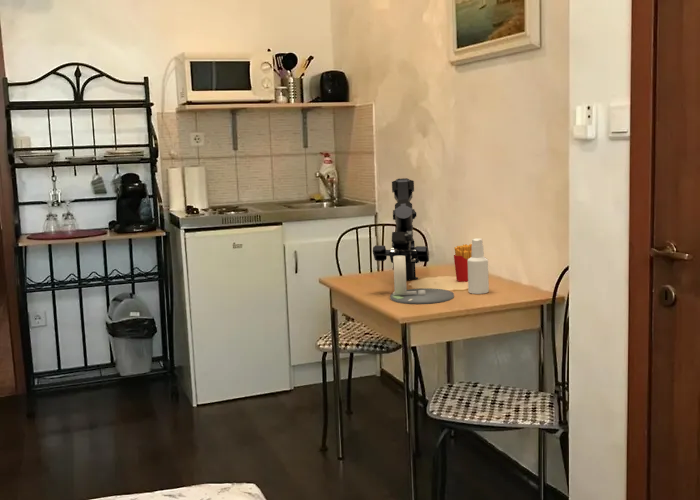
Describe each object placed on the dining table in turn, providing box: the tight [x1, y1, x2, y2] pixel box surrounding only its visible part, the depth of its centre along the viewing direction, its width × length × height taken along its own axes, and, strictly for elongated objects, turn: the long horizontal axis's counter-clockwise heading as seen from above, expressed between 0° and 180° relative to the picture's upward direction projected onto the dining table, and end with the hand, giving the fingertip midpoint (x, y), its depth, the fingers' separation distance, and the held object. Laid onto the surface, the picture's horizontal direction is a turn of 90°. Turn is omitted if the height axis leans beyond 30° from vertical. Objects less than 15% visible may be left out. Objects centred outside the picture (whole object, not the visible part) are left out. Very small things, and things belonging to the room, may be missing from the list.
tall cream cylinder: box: [392, 255, 417, 295], centre depth 257 cm, size 8×4×13 cm, turn 88°
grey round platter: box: [390, 287, 455, 305], centre depth 258 cm, size 21×21×2 cm
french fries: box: [453, 243, 472, 283], centre depth 282 cm, size 9×4×13 cm, turn 112°
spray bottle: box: [467, 237, 490, 295], centre depth 261 cm, size 7×7×18 cm
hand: (398, 274), depth 260 cm, fingers closed, pressing on tall cream cylinder
